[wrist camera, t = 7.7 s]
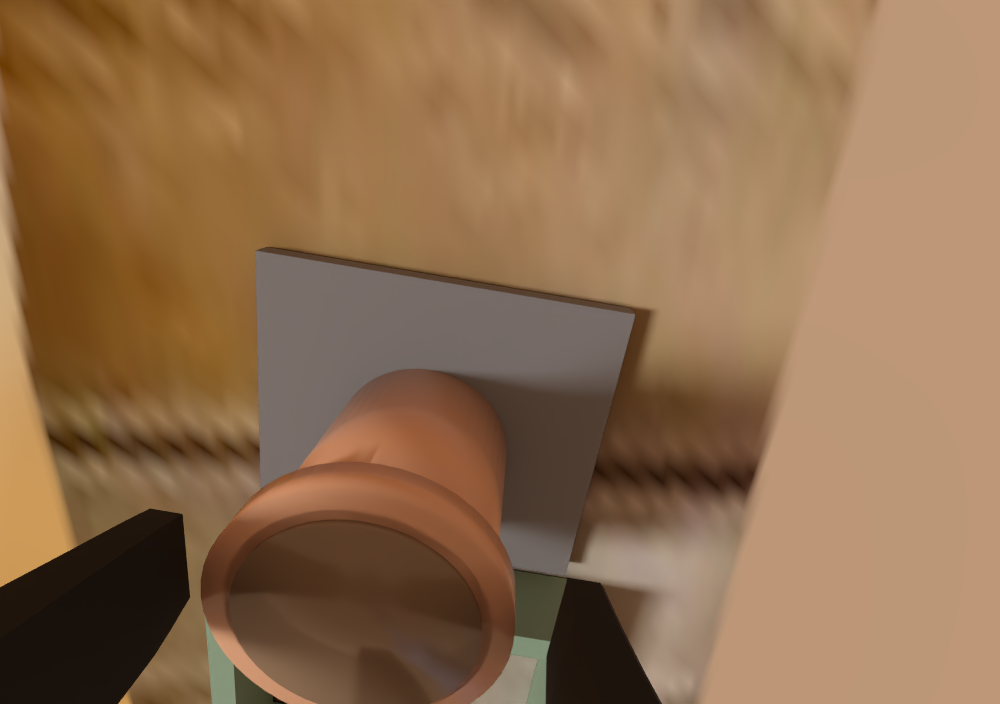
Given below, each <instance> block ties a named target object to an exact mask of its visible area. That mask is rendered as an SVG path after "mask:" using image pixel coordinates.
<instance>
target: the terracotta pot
mask: <svg viewBox="0 0 1000 704" xmlns="http://www.w3.org/2000/svg"><path fill="white" fill-rule="evenodd" d="M505 464H506V438H505V433H504V429H503V426H502V424H501V421H500V419H499V417H498V415H497V413H496V412H495V410H494V409H493V407H492V406H491V404H490V403H489V402H488V401H487V400H486V399H485V398H484V397H483V396H482V395H481V394H480V393H479V392H478V391H477V390H475V389H474V388H473V387H471V386H470V385H468V384H467V383H465V382H464V381H462V380H460V379H458V378H456V377H453V376H451V375H448V374H445V373H442V372H438V371H433V370H426V369H404V370H397V371H393V372H390V373H386V374H383V375H381V376H379V377H376V378H375V379H373V380H371V381H370V382H368V383H366V384H365V385H364V386H363V387H361V388H360V389H359V390H358V391H357V392H356V393H355V394H354V395H353V397H352V398H351V399H350V400H349V402H348V403H347V404H346V406H345V407H344V408H343V410H342V411H341V412H340V414H339V415H338V416H337V418H336V419H335V420H334V422H333V423H332V424H331V426H330V427H329V429H328V430H327V431H326V433H325V434H324V435H323V437H322V438H321V439H320V441H319V442H318V443H317V445H316V446H315V447H314V449H313V450H312V451H311V453H310V454H309V455H308V457H307V458H306V459H305V461H304V462H303V463H302V465H301V466H300V467H299V469H298V470H296V471H293V472H291V473H288V474H286V475H283V476H281V477H279V478H278V479H276V480H274V481H272V482H271V483H269V484H267V485H266V486H264V487H263V488H262V489H261V490H259V491H258V492H257V493H256V494H254V495H253V496H252V497H251V498H250V500H249V501H248V502H247V503H246V504H245V505H244V506H243V507H242V509H241V510H240V511H239V512H238V513H237V515H236V516H235V517H234V518H233V519H232V521H231V522H230V523H229V524H228V526H227V527H226V528H225V529H224V530H223V532H222V533H221V534H220V535H219V536H218V538H217V539H216V541H215V543H214V544H213V546H212V547H211V549H210V551H209V553H208V556H207V558H206V561H205V563H204V566H203V572H202V577H201V600H202V606H203V611H204V614H205V617H206V620H207V623H208V626H209V628H210V630H211V632H212V634H213V636H214V638H215V640H216V642H217V643H218V645H219V646H220V647H221V649H222V650H223V652H224V653H225V655H226V656H227V657H228V658H229V659H230V660H231V662H232V663H233V664H234V665H235V666H236V667H237V668H238V669H239V670H240V671H241V672H242V673H243V674H244V675H245V676H247V677H248V678H249V679H250V680H251V681H252V682H254V683H255V684H257V685H258V686H259V687H261V688H262V689H263V690H265V691H266V692H268V693H270V694H271V695H273V696H274V697H276V698H278V699H279V700H281V701H283V702H285V703H287V704H470V703H471V702H473V701H474V700H476V699H477V698H478V697H480V696H481V695H482V694H483V693H484V692H485V691H487V690H488V689H489V688H490V687H491V686H492V685H493V683H494V682H495V681H496V680H497V678H498V677H499V676H500V674H501V673H502V671H503V669H504V667H505V666H506V664H507V662H508V660H509V657H510V654H511V651H512V648H513V642H514V635H515V614H516V582H515V576H514V571H513V567H512V563H511V561H510V558H509V556H508V553H507V550H506V549H505V547H504V545H503V543H502V541H501V540H500V530H501V517H502V504H503V490H504V477H505Z"/></svg>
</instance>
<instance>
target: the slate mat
mask: <svg viewBox="0 0 1000 704" xmlns="http://www.w3.org/2000/svg"><path fill="white" fill-rule="evenodd" d="M255 252H256V298H257V343H258V389H259V434H260V480H261V489H262V488H263V487H264V486H266V485H267V484H269V483H271V482H272V481H274V480H276V479H278V478H279V477H281V476H283V475H286V474H288V473H291V472H293V471H296V470H298V469H299V467H300V466H301V465H302V463H303V462H304V461H305V459H306V458H307V457H308V455H309V454H310V453H311V451H312V450H313V449H314V447H315V446H316V445H317V443H318V442H319V441H320V439H321V438H322V437H323V435H324V434H325V433H326V431H327V430H328V429H329V427H330V426H331V424H332V423H333V422H334V420H335V419H336V418H337V416H338V415H339V414H340V412H341V411H342V410H343V408H344V407H345V406H346V404H347V403H348V402H349V400H350V399H351V398H352V397H353V395H354V394H355V393H356V392H357V391H358V390H359V389H360V388H361V387H363V386H364V385H365V384H366V383H368V382H370V381H371V380H373V379H375V378H376V377H379V376H381V375H383V374H386V373H390V372H393V371H397V370H404V369H426V370H433V371H438V372H442V373H445V374H448V375H451V376H453V377H456V378H458V379H460V380H462V381H464V382H465V383H467V384H468V385H470V386H471V387H473V388H474V389H475V390H477V391H478V392H479V393H480V394H481V395H482V396H483V397H484V398H485V399H486V400H487V401H488V402H489V403H490V404H491V406H492V407H493V409H494V410H495V412H496V413H497V415H498V417H499V419H500V421H501V424H502V426H503V429H504V433H505V438H506V464H505V477H504V490H503V504H502V517H501V530H500V540H501V541H502V543H503V545H504V547H505V549H506V550H507V553H508V556H509V558H510V561H511V563H512V567H514V568H520V569H526V570H532V571H538V572H545V573H551V574H557V575H563V576H565V575H566V571H567V567H568V564H569V560H570V556H571V552H572V549H573V545H574V541H575V538H576V534H577V530H578V526H579V523H580V519H581V515H582V512H583V508H584V504H585V500H586V497H587V493H588V489H589V486H590V482H591V478H592V474H593V471H594V467H595V463H596V460H597V456H598V452H599V448H600V445H601V441H602V437H603V434H604V430H605V426H606V422H607V419H608V415H609V411H610V408H611V404H612V400H613V396H614V393H615V389H616V385H617V382H618V378H619V374H620V370H621V367H622V363H623V359H624V356H625V352H626V348H627V344H628V341H629V337H630V333H631V330H632V326H633V322H634V318H635V315H636V314H635V313H634V312H633V310H632V309H631V308H627V307H621V306H615V305H609V304H603V303H598V302H592V301H586V300H580V299H574V298H568V297H562V296H556V295H550V294H544V293H538V292H532V291H526V290H520V289H514V288H508V287H502V286H496V285H490V284H484V283H479V282H473V281H467V280H461V279H455V278H449V277H443V276H437V275H431V274H425V273H419V272H413V271H407V270H401V269H395V268H389V267H383V266H377V265H371V264H365V263H360V262H354V261H348V260H342V259H336V258H330V257H324V256H318V255H312V254H306V253H300V252H294V251H288V250H282V249H276V248H270V247H265V248H262V249H259V250H256V251H255Z"/></svg>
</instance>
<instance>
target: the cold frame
mask: <svg viewBox="0 0 1000 704" xmlns="http://www.w3.org/2000/svg"><path fill="white" fill-rule="evenodd" d="M513 571H514V576H515V582H516V614H515V635H514V642H513V648H512V651H511V654H510V655H516V656H522V657H528V658H534V659H538V662H537V666H536V670H535V673H534V677H533V681H532V685H531V689H530V692H529V696H528V700H527V704H546V656H547V652H548V648H549V644H550V641H551V637H552V633H553V630H554V626H555V622H556V619H557V615H558V611H559V608H560V604H561V600H562V596H563V593H564V589H565V585H566V582H567V579H565V578H558V577H552V576H546V575H540V574H534V573H528V572H522V571H516V570H513ZM205 621H206V633H207V646H208V658H209V671H210V683H211V695H212V704H283V703H277V702H273V695H271V694H270V693H268V692H266V691H265V690H263V689H262V688H261V687H259V686H258V685H257V684H255V683H254V682H252V681H251V680H250V679H249V678H248V677H247V676H245V675H244V674H243V673H242V672H241V671H240V670H239V669H238V668H237V667H236V666H235V665H234V664H233V663H232V662H231V660H230V659H229V658H228V657H227V656H226V655H225V653H224V652H223V650H222V649H221V647H220V646H219V645H218V643H217V642H216V640H215V638H214V636H213V634H212V632H211V630H210V628H209V626H208V623H207V620H206V617H205Z"/></svg>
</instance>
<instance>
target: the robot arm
mask: <svg viewBox="0 0 1000 704" xmlns="http://www.w3.org/2000/svg"><path fill="white" fill-rule="evenodd" d="M189 598H190V591H189V580H188V569H187V558H186V547H185V536H184V525H183V514H179V513H173V512H167V511H161V510H155V509H148V510H146V511H144V512H142V513H140V514H138V515H136V516H134V517H132V518H130V519H128V520H126V521H124V522H122V523H121V524H119V525H117V526H115V527H113V528H111V529H109V530H107V531H105V532H104V533H102V534H100V535H98V536H96V537H94V538H92V539H90V540H89V541H87V542H85V543H83V544H81V545H79V546H77V547H75V548H74V549H72V550H70V551H68V552H66V553H64V554H62V555H61V556H59V557H57V558H55V559H53V560H51V561H49V562H47V563H45V564H43V565H42V566H40V567H38V568H36V569H34V570H32V571H30V572H28V573H26V574H24V575H23V576H21V577H19V578H17V579H15V580H13V581H11V582H10V583H7V584H5V585H4V586H2V587H0V704H118V703H119V702H120V700H121V699H122V698H123V697H124V695H125V694H126V693H127V691H128V690H129V689H130V687H131V686H132V685H133V683H134V682H135V681H136V679H137V678H138V677H139V675H140V674H141V673H142V671H143V670H144V669H145V667H146V666H147V665H148V663H149V662H150V661H151V659H152V658H153V657H154V655H155V654H156V652H157V651H158V649H159V647H160V646H161V644H162V643H163V641H164V640H165V638H166V636H167V635H168V633H169V632H170V630H171V628H172V627H173V625H174V623H175V622H176V620H177V618H178V617H179V615H180V613H181V611H182V610H183V608H184V606H185V605H186V603H187V601H188V600H189ZM546 704H662V703H661V701H660V700H659V698H658V696H657V694H656V692H655V690H654V689H653V687H652V685H651V683H650V681H649V679H648V677H647V676H646V674H645V672H644V670H643V668H642V666H641V664H640V662H639V660H638V658H637V656H636V654H635V652H634V650H633V648H632V646H631V644H630V642H629V640H628V638H627V636H626V634H625V632H624V630H623V628H622V626H621V624H620V622H619V620H618V618H617V615H616V613H615V611H614V609H613V607H612V605H611V603H610V600H609V598H608V596H607V594H606V592H605V589H604V588H603V586H602V585H601V584H600V583H597V582H591V581H584V580H578V579H572V578H567V582H566V585H565V589H564V593H563V596H562V600H561V604H560V608H559V611H558V615H557V619H556V622H555V626H554V630H553V633H552V637H551V641H550V644H549V648H548V652H547V656H546Z"/></svg>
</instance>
